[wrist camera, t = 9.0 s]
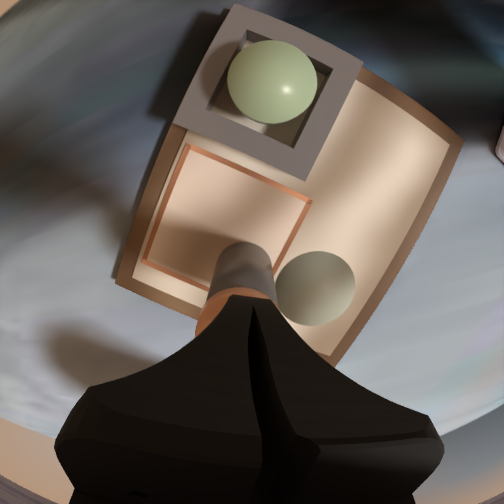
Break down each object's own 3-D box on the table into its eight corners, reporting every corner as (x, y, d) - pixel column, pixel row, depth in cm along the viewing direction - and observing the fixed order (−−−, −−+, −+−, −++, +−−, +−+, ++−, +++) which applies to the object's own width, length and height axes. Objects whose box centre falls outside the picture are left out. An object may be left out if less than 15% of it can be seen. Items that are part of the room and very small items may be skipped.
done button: (321, 73, 14) (330, 64, 12) (288, 137, 15) (294, 137, 13) (250, 40, 13) (250, 27, 11) (217, 105, 14) (212, 100, 12)
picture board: (460, 140, 16) (466, 140, 16) (331, 364, 22) (333, 370, 21) (232, 10, 14) (232, 5, 13) (117, 280, 19) (113, 284, 19)
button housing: (353, 69, 15) (363, 62, 13) (299, 177, 17) (305, 181, 15) (236, 15, 14) (234, 3, 12) (180, 124, 16) (172, 122, 14)
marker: (281, 249, 18) (297, 312, 11) (263, 301, 19) (269, 379, 12) (222, 233, 18) (205, 288, 11) (208, 286, 19) (188, 360, 12)
